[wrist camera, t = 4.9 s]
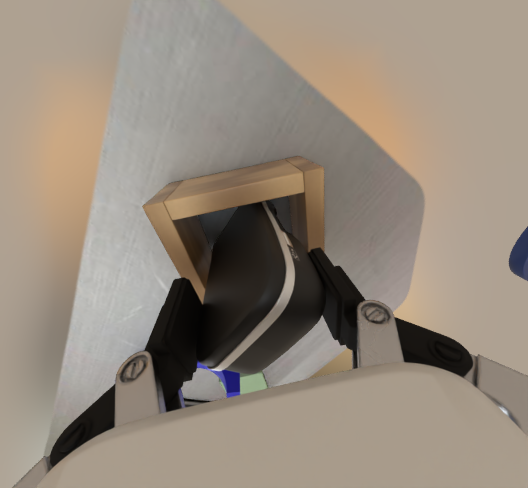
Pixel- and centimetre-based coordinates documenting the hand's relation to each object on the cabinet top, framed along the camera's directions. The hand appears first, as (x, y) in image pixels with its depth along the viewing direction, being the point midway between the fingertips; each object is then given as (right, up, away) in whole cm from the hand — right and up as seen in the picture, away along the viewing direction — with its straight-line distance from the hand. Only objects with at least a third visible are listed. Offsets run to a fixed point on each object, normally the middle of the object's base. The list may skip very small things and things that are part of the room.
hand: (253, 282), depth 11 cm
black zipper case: (-1, +4, +6) cm, 7 cm away
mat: (-3, -22, +22) cm, 31 cm away
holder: (-1, +4, +6) cm, 7 cm away
